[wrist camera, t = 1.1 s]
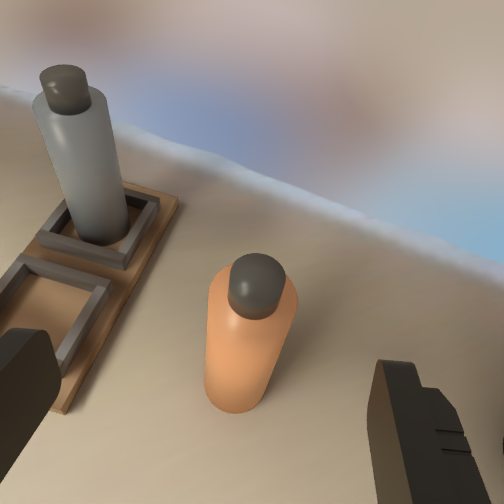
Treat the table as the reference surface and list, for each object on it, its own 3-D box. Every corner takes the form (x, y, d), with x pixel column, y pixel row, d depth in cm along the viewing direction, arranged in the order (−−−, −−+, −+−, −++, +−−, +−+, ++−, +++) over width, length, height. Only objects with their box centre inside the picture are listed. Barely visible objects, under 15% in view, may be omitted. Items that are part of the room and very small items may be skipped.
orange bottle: (256, 421, 31) (295, 331, 19) (195, 402, 31) (195, 302, 19) (271, 362, 34) (313, 252, 22) (215, 345, 34) (226, 228, 22)
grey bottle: (115, 252, 37) (78, 104, 25) (66, 238, 37) (6, 85, 26) (138, 215, 40) (114, 67, 28) (92, 202, 40) (49, 50, 28)
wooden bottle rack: (64, 415, 30) (54, 403, 27) (-62, 374, 30) (-81, 359, 28) (178, 205, 43) (177, 186, 41) (88, 180, 44) (83, 160, 41)
